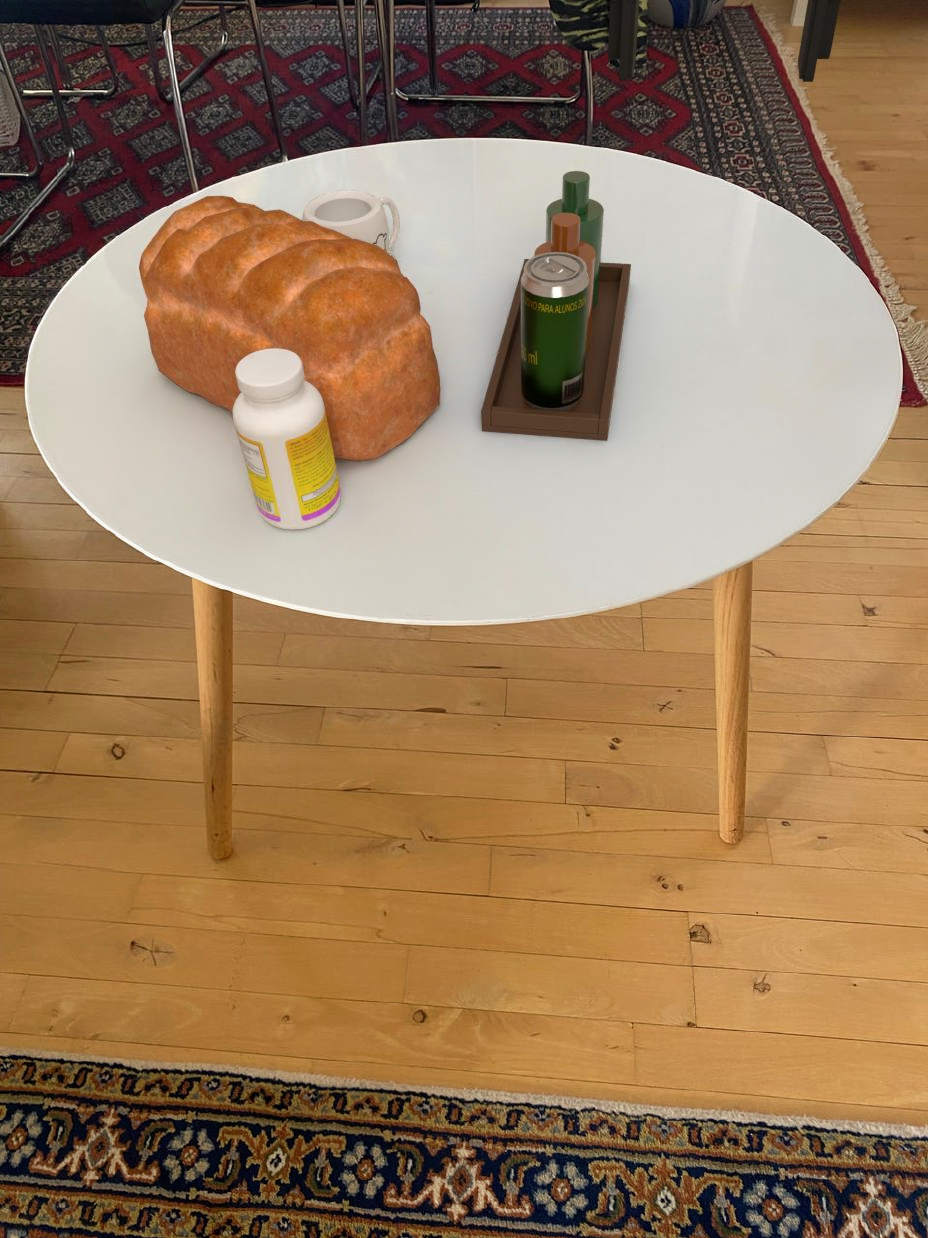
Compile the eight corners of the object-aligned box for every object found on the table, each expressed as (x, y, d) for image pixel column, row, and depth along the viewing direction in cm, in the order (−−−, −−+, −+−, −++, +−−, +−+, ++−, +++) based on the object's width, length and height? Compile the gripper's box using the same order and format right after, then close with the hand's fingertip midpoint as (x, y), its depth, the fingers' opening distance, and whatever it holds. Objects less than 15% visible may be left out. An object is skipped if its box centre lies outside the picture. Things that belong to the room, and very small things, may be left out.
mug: (355, 310, 98) (344, 234, 92) (294, 286, 101) (280, 211, 95) (432, 260, 104) (426, 185, 98) (372, 239, 107) (363, 166, 102)
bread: (251, 311, 98) (215, 153, 87) (461, 399, 87) (451, 230, 75) (143, 378, 91) (88, 216, 80) (356, 484, 80) (328, 311, 68)
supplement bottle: (349, 479, 80) (325, 340, 71) (333, 535, 76) (306, 395, 66) (268, 476, 81) (234, 339, 71) (249, 532, 76) (209, 392, 67)
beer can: (595, 393, 86) (604, 263, 77) (557, 423, 83) (561, 292, 74) (546, 371, 88) (549, 243, 79) (508, 400, 85) (506, 271, 77)
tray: (629, 283, 99) (631, 263, 97) (607, 440, 82) (608, 420, 80) (524, 277, 100) (524, 258, 99) (481, 431, 84) (480, 410, 82)
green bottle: (600, 287, 97) (608, 164, 88) (595, 315, 94) (603, 190, 85) (548, 284, 98) (550, 162, 89) (541, 312, 95) (543, 188, 86)
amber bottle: (592, 331, 92) (600, 205, 83) (587, 363, 89) (594, 235, 80) (537, 328, 93) (539, 203, 84) (530, 359, 89) (530, 232, 81)
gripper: (550, -341, 41) (549, 98, 54) (996, -373, 38) (885, 99, 51) (571, -354, 46) (566, 50, 59) (968, -384, 43) (873, 49, 55)
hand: (714, 72), depth 55 cm, fingers open, 9 cm apart
